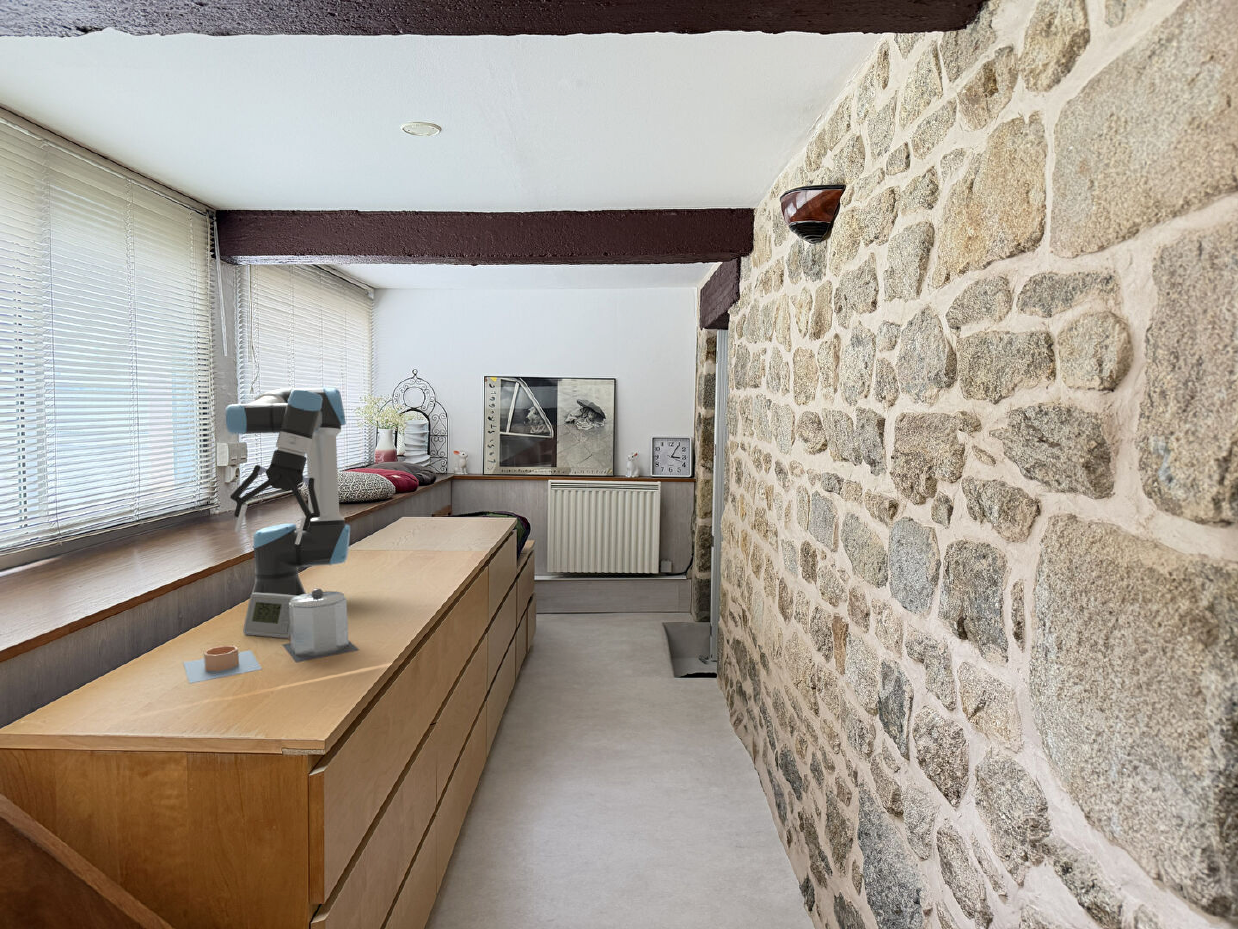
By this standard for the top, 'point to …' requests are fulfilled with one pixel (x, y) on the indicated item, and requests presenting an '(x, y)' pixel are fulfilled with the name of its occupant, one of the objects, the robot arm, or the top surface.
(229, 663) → the terracotta bowl
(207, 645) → the top surface
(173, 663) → the top surface
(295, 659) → the black mat
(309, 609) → the steel canister
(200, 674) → the blue board
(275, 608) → the digital clock
